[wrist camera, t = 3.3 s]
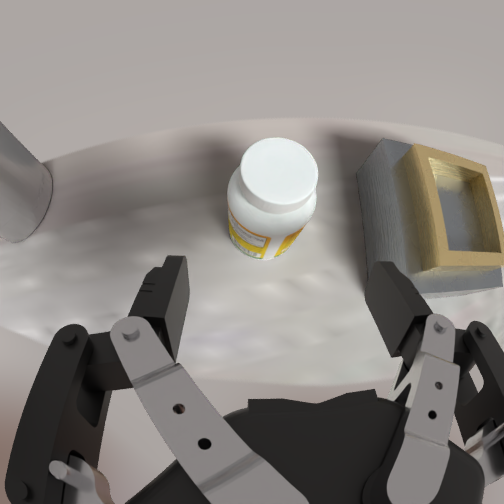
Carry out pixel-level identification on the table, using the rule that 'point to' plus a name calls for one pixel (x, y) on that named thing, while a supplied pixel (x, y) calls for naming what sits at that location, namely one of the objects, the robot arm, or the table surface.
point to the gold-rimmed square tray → (431, 219)
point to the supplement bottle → (271, 197)
